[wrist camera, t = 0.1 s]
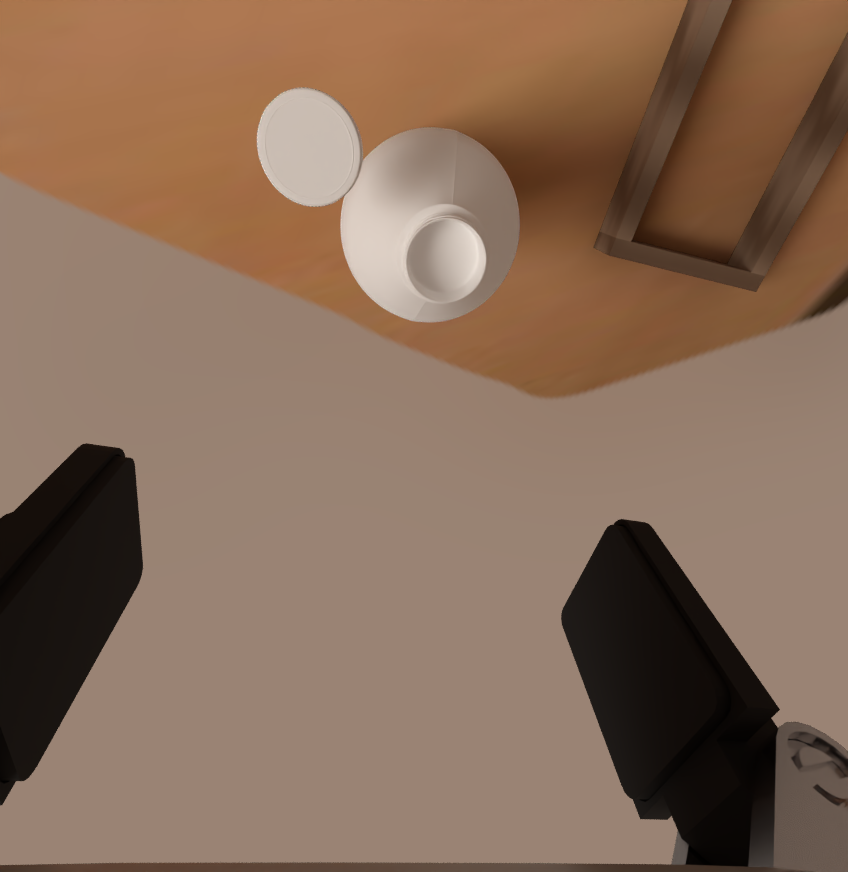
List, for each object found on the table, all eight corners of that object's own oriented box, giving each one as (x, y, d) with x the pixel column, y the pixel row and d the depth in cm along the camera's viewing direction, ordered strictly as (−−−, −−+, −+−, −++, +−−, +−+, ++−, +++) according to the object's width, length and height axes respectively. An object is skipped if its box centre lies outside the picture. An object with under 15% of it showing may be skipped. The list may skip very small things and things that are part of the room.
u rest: (744, -145, 27) (781, -176, 25) (920, -69, 29) (971, -90, 27) (593, 247, 37) (608, 255, 35) (731, 282, 40) (756, 291, 37)
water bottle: (471, 180, 34) (615, 239, 13) (415, 256, 37) (460, 412, 15) (370, 86, 31) (341, -39, 10) (316, 176, 34) (198, 233, 12)
